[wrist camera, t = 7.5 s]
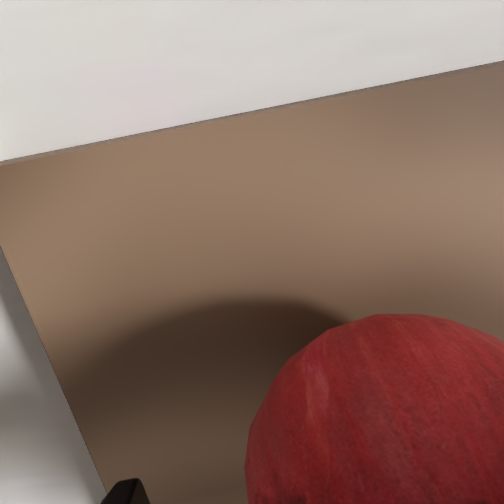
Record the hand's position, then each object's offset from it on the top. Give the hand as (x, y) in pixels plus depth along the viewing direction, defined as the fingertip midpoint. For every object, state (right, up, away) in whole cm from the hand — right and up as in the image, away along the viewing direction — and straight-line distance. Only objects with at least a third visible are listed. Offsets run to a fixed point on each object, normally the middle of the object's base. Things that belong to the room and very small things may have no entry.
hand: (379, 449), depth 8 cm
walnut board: (0, +2, +4) cm, 5 cm away
